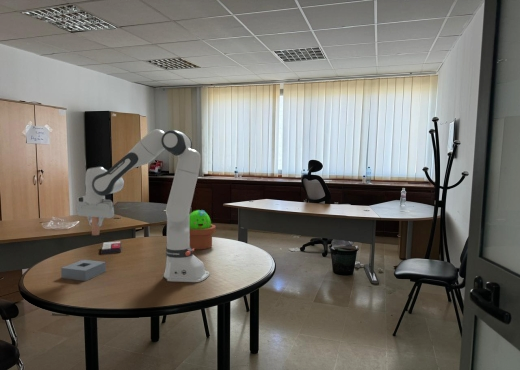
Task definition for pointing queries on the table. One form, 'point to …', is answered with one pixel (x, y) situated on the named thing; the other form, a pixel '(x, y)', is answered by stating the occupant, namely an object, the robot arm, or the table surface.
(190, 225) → the potted cactus
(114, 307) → the table surface
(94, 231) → the peg
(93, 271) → the socket block
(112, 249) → the black white red box
